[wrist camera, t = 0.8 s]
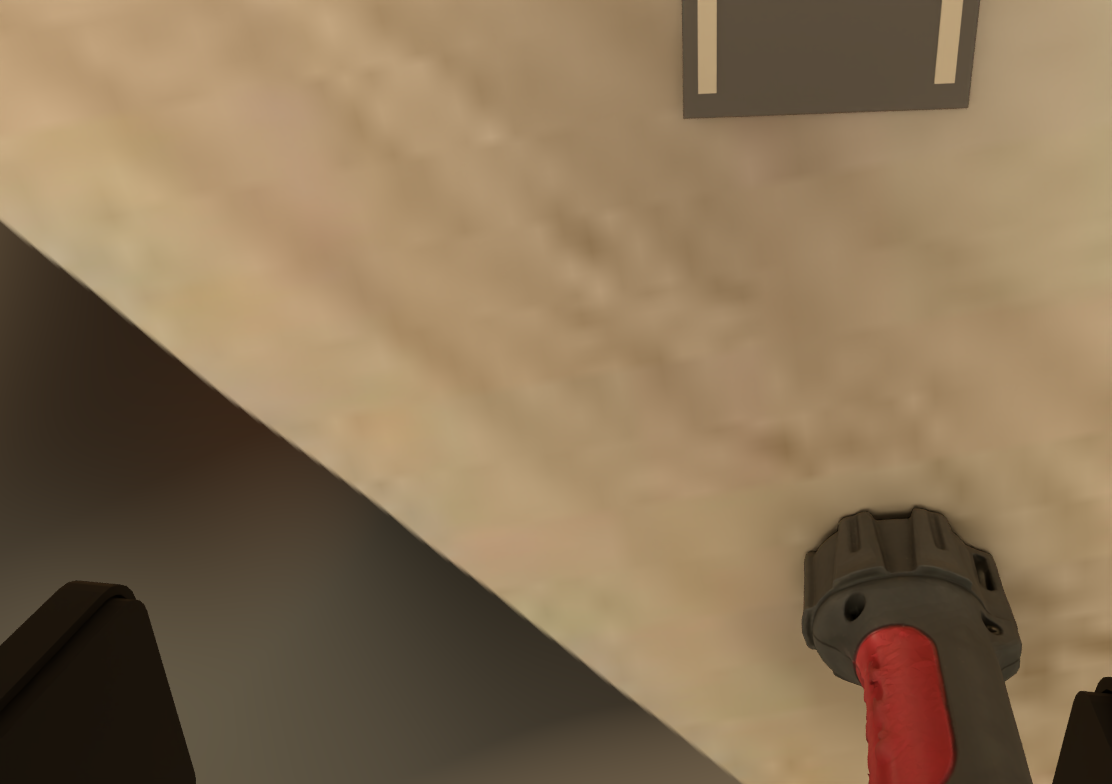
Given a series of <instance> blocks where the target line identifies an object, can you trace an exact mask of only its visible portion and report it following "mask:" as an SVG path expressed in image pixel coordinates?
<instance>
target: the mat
mask: <svg viewBox="0 0 1112 784" xmlns="http://www.w3.org/2000/svg"><path fill="white" fill-rule="evenodd" d="M979 5H980V0H682V36H683V116H684V119H688V118H715V117H742V116H769V115H795V114H822V113H849V112H876V111H903V110H930V109H957V108H968V104H969V95H970V86H971V77H972V68H973V59H974V50H975V41H976V32H977V23H978V14H979Z"/></svg>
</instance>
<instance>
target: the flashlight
mask: <svg viewBox="0 0 1112 784" xmlns="http://www.w3.org/2000/svg"><path fill="white" fill-rule="evenodd" d="M802 633H803V636H804V639H805V641H806V644H807V646H808V647H809V648H811V649H815V650H817V652H818V654H819V655H820V657H821V658H822V660H823V661H824V662H825V663H826V664H827V665H828V667H829V668H830V669H832V670H833V673H834V675H835V676H837V677H839V678H841V679H843V680H846V681H848V682H851V683H854V684H857V685H860V686H862V687H863V688H864V701H865V703H866V706H867V716H866V720H867V723H866V740H867V742H868V769H869V773H870V774H868V775H869V784H1033V783H1032V779H1031V776H1030V772H1029V768H1028V765H1027V761H1026V757H1025V754H1024V750H1023V746H1022V743H1021V739H1020V736H1019V732H1018V729H1017V725H1016V722H1015V718H1014V715H1013V711H1012V708H1011V704H1010V701H1009V697H1008V693H1007V689H1006V686H1005V681H1006V680H1008V679H1009V678H1010V677H1012V676H1013V675H1014V674H1016V673H1017V671H1018V669H1019V668H1020V656H1021V650H1022V643H1021V640H1020V636H1019V633H1018V628H1017V624H1016V621H1015V619H1014V616H1013V613H1012V610H1011V608H1010V605H1009V603H1008V600H1007V598H1006V595H1005V592H1004V590H1003V587H1002V584H1001V580H1000V577H999V573H998V570H997V567H996V564H995V561H994V559H993V557H992V556H991V555H990V554H988V553H985V552H982V551H979V550H976V549H974V548H971V547H969V546H967V545H966V544H964V543H963V542H962V541H961V540H960V538H959V537H958V536H957V535H956V534H954V533H953V532H952V530H951V528H950V525H949V523H948V521H947V519H946V517H944V516H943V515H941V514H939V513H934V512H929V511H927V510H925V509H918V508H915V509H913V510H912V514H911V517H910V518H908V519H888V520H879V521H878V520H875V519H874V518H873V517H872V515H871V514H870V513H869V512H860V513H858V514H856V515H854V516H850V517H845V518H843V519H841V520H840V522H839V526H838V532H836V533H835V534H833V535H832V536H830V537H829V538H828V539H827V540H826V541H824V542H823V543H822V545H821V546H820V547H819V548H818V550H817V552H810V553H808V554H807V555H806V557H805V561H804V611H803V616H802Z"/></svg>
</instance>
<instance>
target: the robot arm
mask: <svg viewBox="0 0 1112 784" xmlns="http://www.w3.org/2000/svg"><path fill="white" fill-rule="evenodd" d="M0 784H196V777H195V772H194V769H193V765H192V762H191V759H190V755H189V752H188V749H187V745H186V742H185V738H184V735H183V731H182V728H181V725H180V721H179V718H178V714H177V711H176V707H175V704H174V701H173V697H172V694H171V691H170V687H169V684H168V681H167V677H166V674H165V670H164V667H163V664H162V660H161V656H160V653H159V650H158V646H157V643H156V640H155V636H154V633H153V629H152V626H151V623H150V619H149V616H148V612H147V610H146V608H145V605H144V604H143V603H142V602H141V601H139V600H136V598H135V596H134V594H133V592H132V591H131V590H130V589H129V588H128V587H127V586H124V585H120V584H109V583H98V582H88V581H72V582H68V583H67V584H65V585H64V586H62V587H61V588H60V589H59V590H58V591H57V592H55V593H54V594H53V595H52V596H51V597H50V598H49V599H48V600H47V601H46V602H45V603H44V604H43V605H42V606H41V607H40V608H39V609H38V610H37V611H36V612H35V613H34V614H33V615H32V616H30V618H28V619H27V620H26V621H25V622H24V623H23V624H22V625H21V626H20V627H19V628H18V629H17V630H16V631H15V632H14V633H13V634H12V635H11V636H10V637H9V638H8V639H7V640H6V641H5V642H3V644H1V646H0ZM1052 784H1112V677H1103V678H1102V679H1101V680H1100V682H1099V683H1098V685H1097V688H1096V690H1095V692H1087V691H1079V692H1078V693H1077V695H1076V696H1075V699H1074V702H1073V705H1072V709H1071V713H1070V717H1069V721H1068V725H1067V729H1066V732H1065V736H1064V740H1063V744H1062V748H1061V752H1060V756H1059V760H1058V763H1057V767H1056V771H1055V775H1054V779H1053V783H1052Z"/></svg>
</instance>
